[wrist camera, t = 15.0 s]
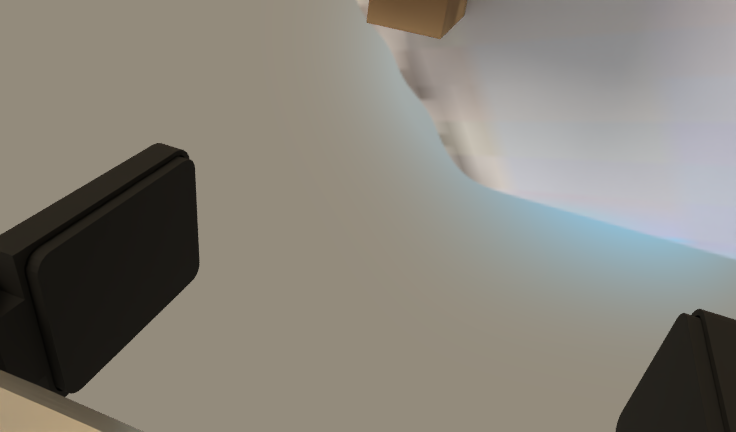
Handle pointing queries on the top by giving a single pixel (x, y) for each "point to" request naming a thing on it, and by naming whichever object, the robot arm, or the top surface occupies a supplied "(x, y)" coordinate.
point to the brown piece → (417, 15)
